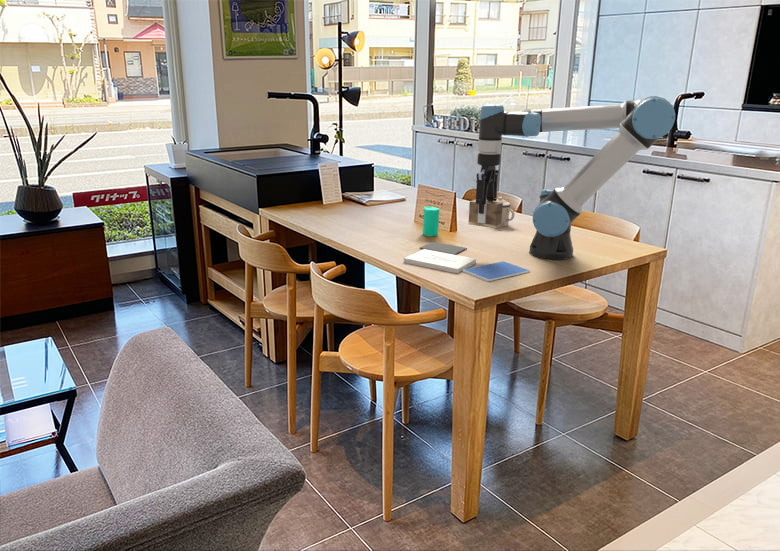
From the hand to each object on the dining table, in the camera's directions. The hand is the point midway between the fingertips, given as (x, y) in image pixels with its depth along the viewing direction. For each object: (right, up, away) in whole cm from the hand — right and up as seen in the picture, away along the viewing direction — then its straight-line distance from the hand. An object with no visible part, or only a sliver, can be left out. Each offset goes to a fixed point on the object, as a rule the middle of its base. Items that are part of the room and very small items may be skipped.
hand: (485, 221), depth 218 cm
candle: (-17, -3, +31) cm, 36 cm away
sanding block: (0, -1, 0) cm, 1 cm away
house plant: (+10, +12, +80) cm, 81 cm away
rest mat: (-13, -9, +11) cm, 20 cm away
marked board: (-16, -14, -5) cm, 22 cm away
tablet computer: (+2, -18, -13) cm, 22 cm away
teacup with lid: (+14, +2, +50) cm, 52 cm away
